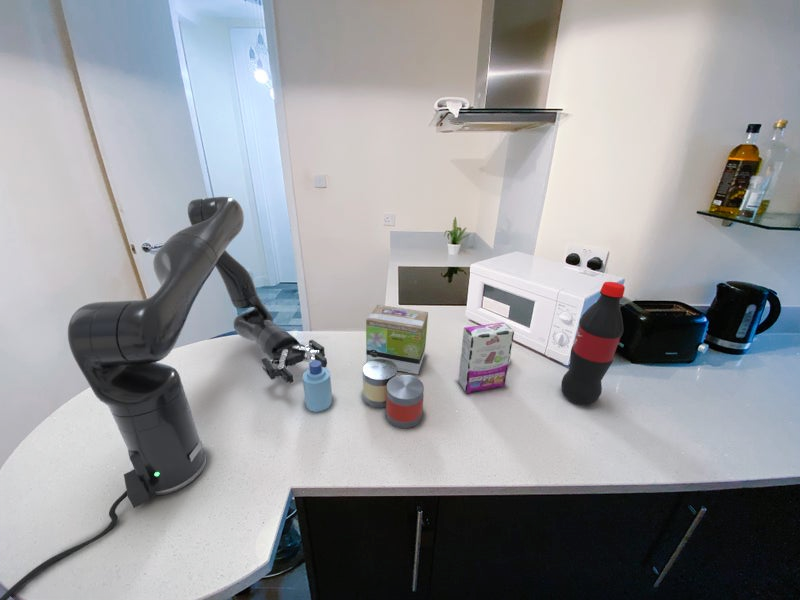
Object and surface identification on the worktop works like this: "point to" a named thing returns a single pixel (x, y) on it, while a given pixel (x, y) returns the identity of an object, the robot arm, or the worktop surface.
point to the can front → (404, 401)
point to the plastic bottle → (317, 387)
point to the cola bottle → (594, 346)
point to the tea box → (397, 337)
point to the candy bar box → (485, 356)
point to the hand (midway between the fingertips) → (309, 371)
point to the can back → (377, 381)
